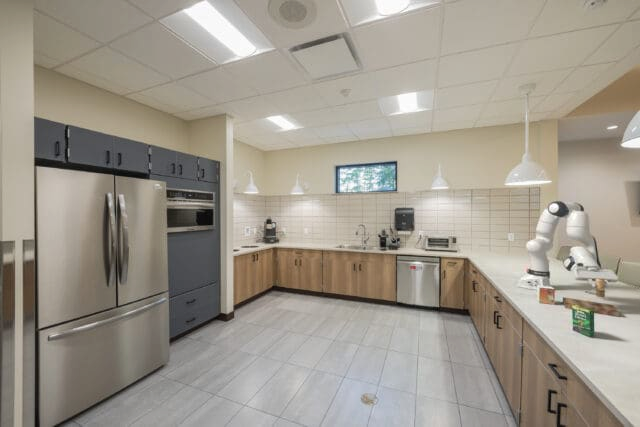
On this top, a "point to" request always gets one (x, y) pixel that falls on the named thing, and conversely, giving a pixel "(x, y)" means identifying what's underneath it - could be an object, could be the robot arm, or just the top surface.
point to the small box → (546, 295)
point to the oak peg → (600, 288)
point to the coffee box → (583, 320)
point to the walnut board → (592, 306)
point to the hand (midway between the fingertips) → (600, 286)
